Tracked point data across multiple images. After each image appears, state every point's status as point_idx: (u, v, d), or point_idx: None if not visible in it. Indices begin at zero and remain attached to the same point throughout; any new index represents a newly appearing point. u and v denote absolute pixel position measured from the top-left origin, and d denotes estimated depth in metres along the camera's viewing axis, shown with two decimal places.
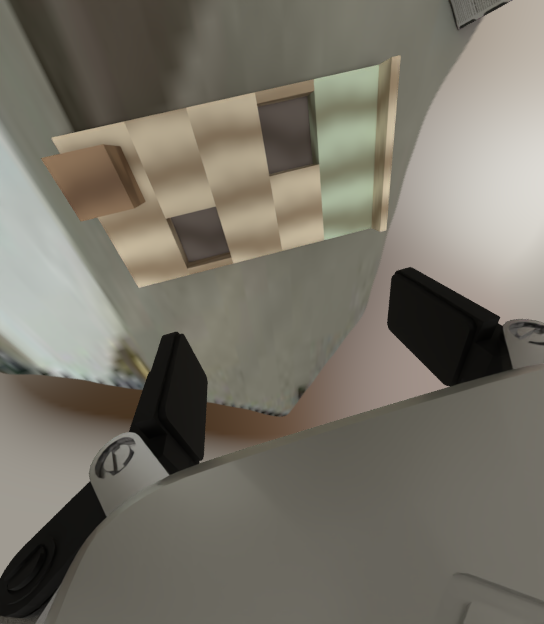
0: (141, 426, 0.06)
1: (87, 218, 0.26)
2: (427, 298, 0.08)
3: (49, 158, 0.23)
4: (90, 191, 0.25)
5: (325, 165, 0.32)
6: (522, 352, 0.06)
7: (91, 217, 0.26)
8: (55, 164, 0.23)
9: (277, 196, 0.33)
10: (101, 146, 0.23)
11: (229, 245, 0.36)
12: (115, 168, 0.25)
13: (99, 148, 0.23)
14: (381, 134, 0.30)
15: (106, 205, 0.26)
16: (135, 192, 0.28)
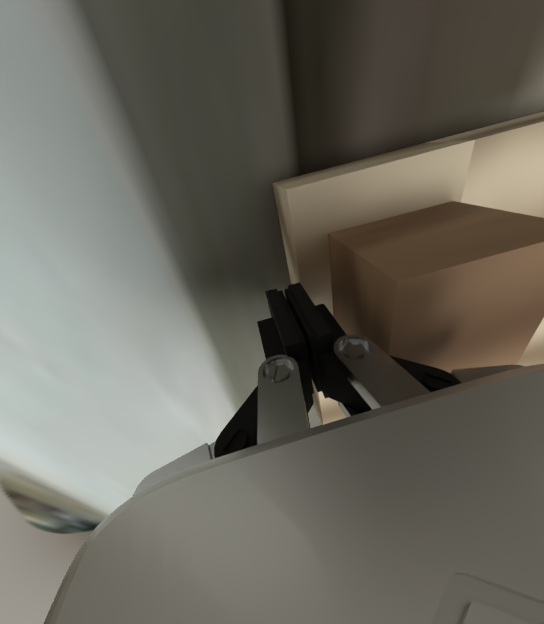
0: (288, 350, 0.07)
1: None
2: (297, 312, 0.09)
3: (420, 280, 0.07)
4: (454, 348, 0.09)
5: None
6: (362, 371, 0.06)
7: None
8: (423, 294, 0.07)
9: None
10: None
11: None
12: None
13: None
14: None
15: None
16: None
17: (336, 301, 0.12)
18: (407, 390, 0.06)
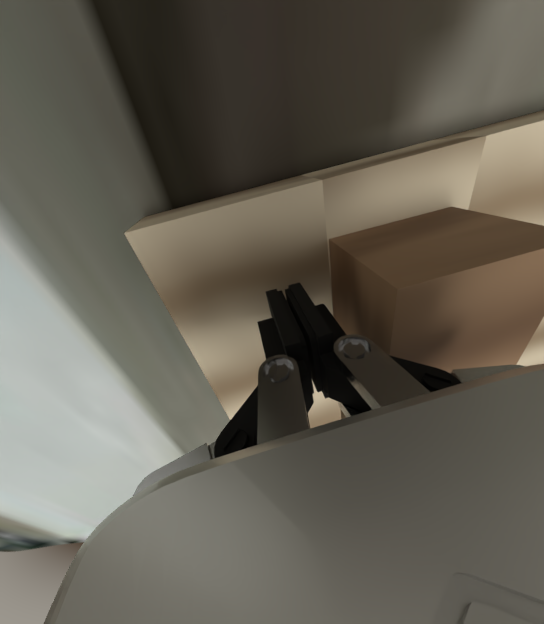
0: (288, 350, 0.07)
1: None
2: (297, 313, 0.09)
3: (420, 287, 0.07)
4: (453, 352, 0.09)
5: None
6: (362, 371, 0.06)
7: None
8: (423, 301, 0.07)
9: None
10: None
11: None
12: None
13: None
14: None
15: None
16: None
17: (336, 305, 0.12)
18: (407, 390, 0.06)
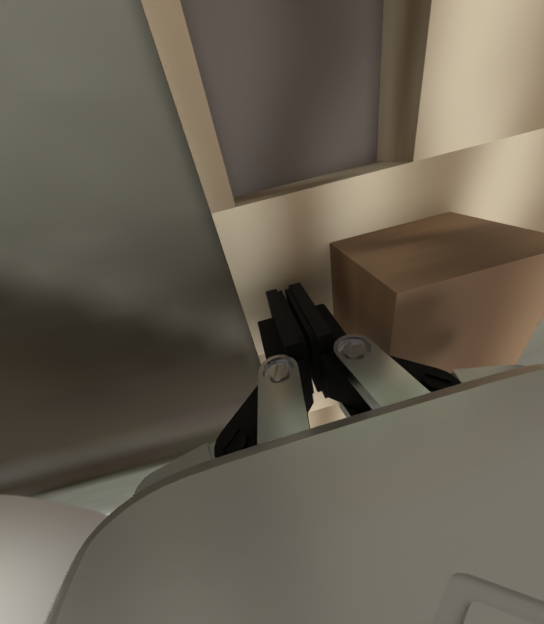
0: (288, 350, 0.07)
1: (514, 361, 0.10)
2: (297, 313, 0.09)
3: None
4: (475, 346, 0.09)
5: None
6: (362, 371, 0.06)
7: (518, 354, 0.10)
8: None
9: (474, 129, 0.10)
10: (400, 298, 0.07)
11: None
12: (457, 271, 0.07)
13: (403, 304, 0.07)
14: None
15: (521, 320, 0.09)
16: (461, 230, 0.09)
17: None
18: (407, 390, 0.06)
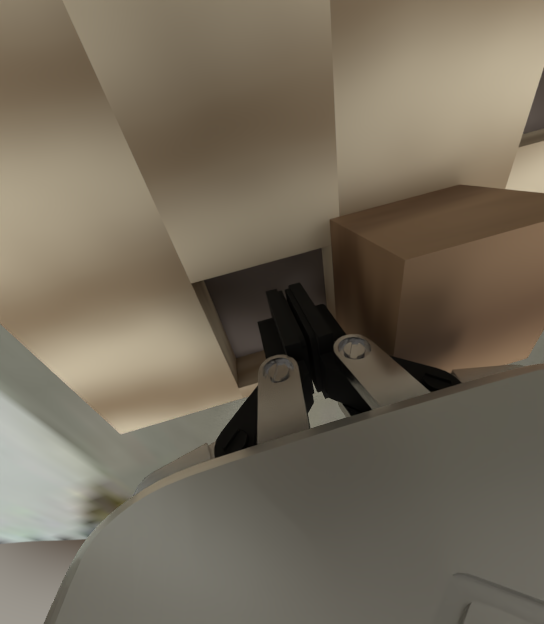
0: (288, 350, 0.07)
1: None
2: (297, 312, 0.09)
3: (430, 258, 0.06)
4: (465, 335, 0.08)
5: None
6: (362, 371, 0.06)
7: None
8: (433, 275, 0.06)
9: None
10: None
11: None
12: None
13: None
14: None
15: (472, 360, 0.09)
16: None
17: (338, 291, 0.12)
18: (407, 390, 0.06)
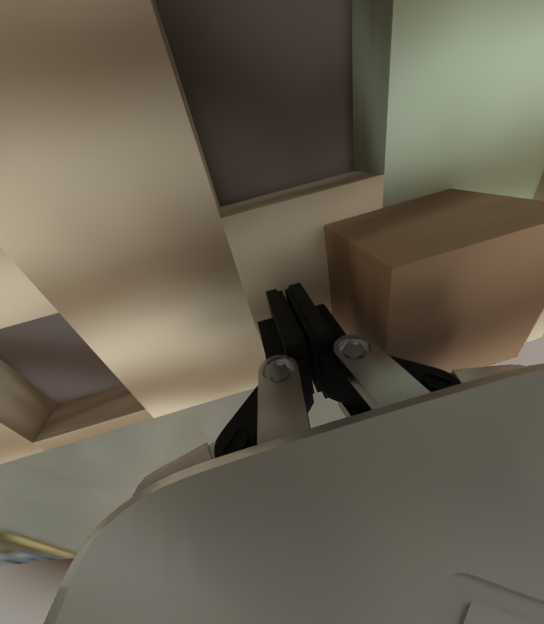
0: (288, 350, 0.07)
1: None
2: (297, 313, 0.09)
3: (416, 266, 0.07)
4: (454, 336, 0.08)
5: (402, 177, 0.10)
6: (362, 371, 0.06)
7: None
8: (420, 281, 0.07)
9: (251, 271, 0.11)
10: None
11: (133, 389, 0.14)
12: None
13: None
14: None
15: (463, 360, 0.09)
16: None
17: (334, 294, 0.12)
18: (407, 390, 0.06)
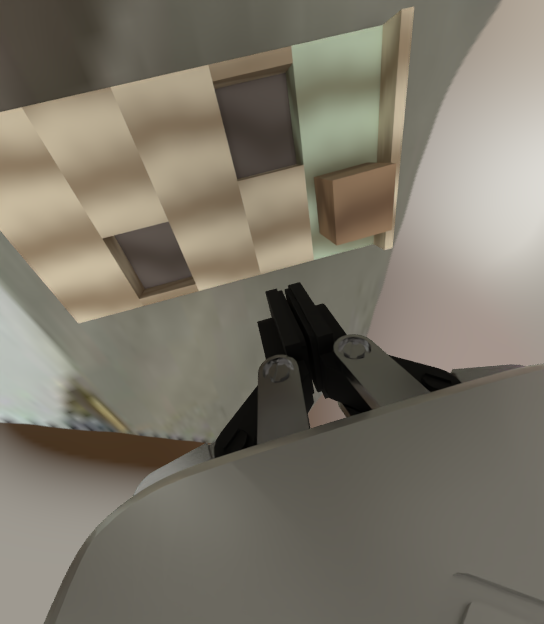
0: (288, 350, 0.07)
1: (344, 242, 0.24)
2: (297, 313, 0.09)
3: (340, 180, 0.21)
4: (360, 214, 0.23)
5: (312, 166, 0.24)
6: (362, 371, 0.06)
7: (348, 241, 0.24)
8: (342, 186, 0.21)
9: (249, 206, 0.25)
10: (393, 165, 0.21)
11: (191, 269, 0.28)
12: (393, 188, 0.23)
13: (391, 167, 0.21)
14: (386, 123, 0.22)
15: (367, 228, 0.24)
16: None
17: (318, 210, 0.26)
18: (407, 390, 0.06)
